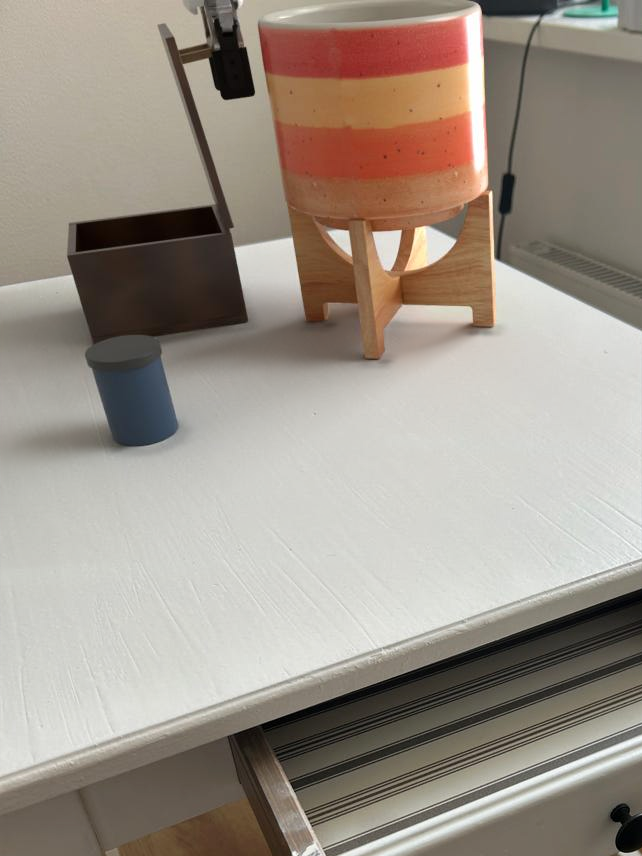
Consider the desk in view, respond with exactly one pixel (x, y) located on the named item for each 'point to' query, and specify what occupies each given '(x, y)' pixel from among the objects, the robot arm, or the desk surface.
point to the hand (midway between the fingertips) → (234, 90)
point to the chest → (156, 273)
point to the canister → (133, 389)
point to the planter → (383, 152)
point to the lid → (195, 110)
